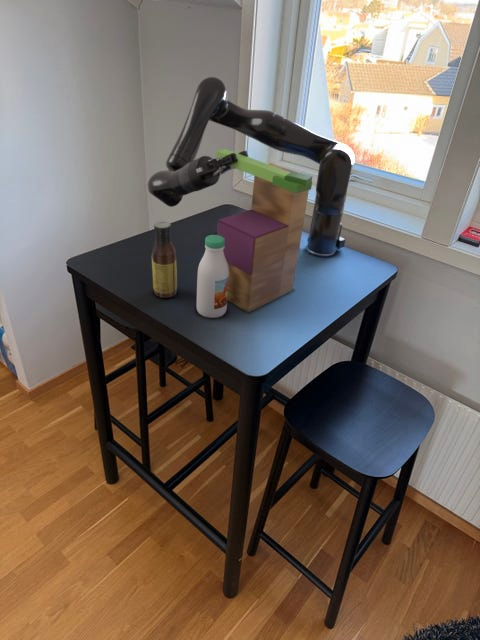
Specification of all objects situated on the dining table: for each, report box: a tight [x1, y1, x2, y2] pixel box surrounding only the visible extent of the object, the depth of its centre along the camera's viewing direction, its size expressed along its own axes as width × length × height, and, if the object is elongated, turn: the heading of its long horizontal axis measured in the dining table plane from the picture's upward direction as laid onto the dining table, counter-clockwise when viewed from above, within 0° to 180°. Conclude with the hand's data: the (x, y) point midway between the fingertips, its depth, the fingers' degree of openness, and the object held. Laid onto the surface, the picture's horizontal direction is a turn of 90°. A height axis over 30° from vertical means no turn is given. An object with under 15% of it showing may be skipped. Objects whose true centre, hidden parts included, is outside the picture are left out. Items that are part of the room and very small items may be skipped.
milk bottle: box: [196, 234, 229, 319], centre depth 114 cm, size 8×8×20 cm
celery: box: [215, 148, 314, 194], centre depth 108 cm, size 27×6×3 cm, turn 45°
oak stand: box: [227, 162, 310, 313], centre depth 120 cm, size 13×18×32 cm
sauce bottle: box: [151, 220, 178, 299], centre depth 119 cm, size 6×6×20 cm
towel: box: [216, 209, 288, 275], centre depth 118 cm, size 12×12×10 cm
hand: (241, 156), depth 110 cm, fingers closed on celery, 3 cm apart
